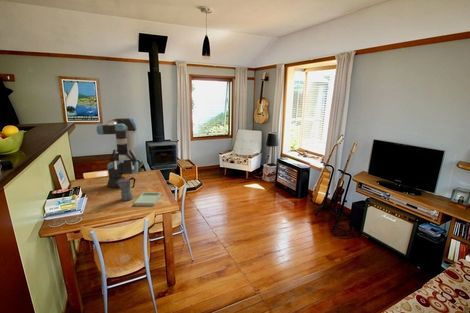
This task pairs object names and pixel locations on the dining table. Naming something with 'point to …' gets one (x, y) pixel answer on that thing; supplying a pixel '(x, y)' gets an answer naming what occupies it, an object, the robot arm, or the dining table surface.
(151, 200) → the tray
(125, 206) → the dining table surface
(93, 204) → the dining table surface
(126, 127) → the robot arm
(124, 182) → the moka pot
